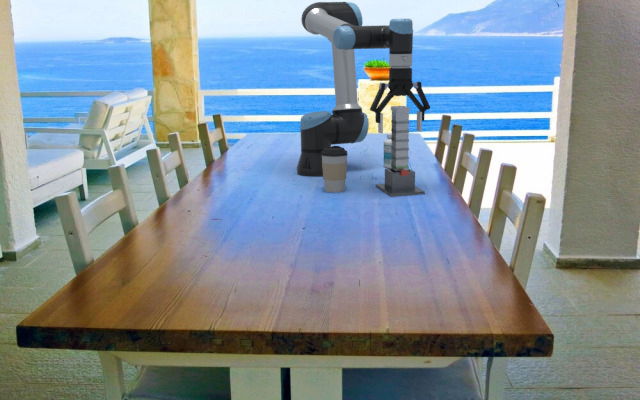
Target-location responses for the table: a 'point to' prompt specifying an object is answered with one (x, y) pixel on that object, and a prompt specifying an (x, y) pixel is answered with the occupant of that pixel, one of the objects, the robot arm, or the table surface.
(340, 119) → the robot arm
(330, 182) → the coffee cup
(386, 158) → the pill bottle
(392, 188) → the stand
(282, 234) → the table surface
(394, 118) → the column
